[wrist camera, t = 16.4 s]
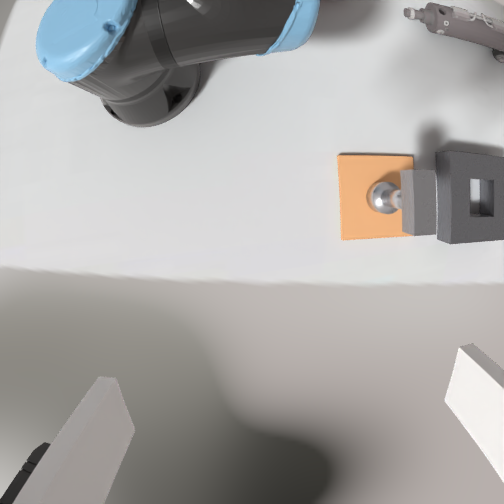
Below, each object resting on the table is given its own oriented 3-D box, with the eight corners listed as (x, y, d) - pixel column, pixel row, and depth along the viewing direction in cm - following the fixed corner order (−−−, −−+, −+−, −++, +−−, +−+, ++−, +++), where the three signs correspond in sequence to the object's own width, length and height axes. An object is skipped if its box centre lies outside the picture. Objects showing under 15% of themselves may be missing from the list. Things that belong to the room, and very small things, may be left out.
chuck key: (364, 173, 41) (406, 169, 28) (391, 173, 41) (439, 170, 28) (367, 222, 42) (408, 236, 30) (393, 220, 42) (441, 233, 30)
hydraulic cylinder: (541, 79, 34) (567, 70, 24) (400, 41, 40) (416, 17, 30) (533, 50, 32) (557, 38, 22) (393, 10, 38) (406, -17, 29)
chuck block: (435, 152, 41) (449, 150, 37) (492, 158, 40) (506, 158, 36) (437, 239, 44) (450, 244, 40) (493, 235, 43) (506, 239, 39)
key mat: (337, 155, 41) (338, 155, 40) (410, 157, 41) (412, 156, 40) (341, 239, 44) (342, 240, 43) (412, 234, 44) (414, 235, 43)
